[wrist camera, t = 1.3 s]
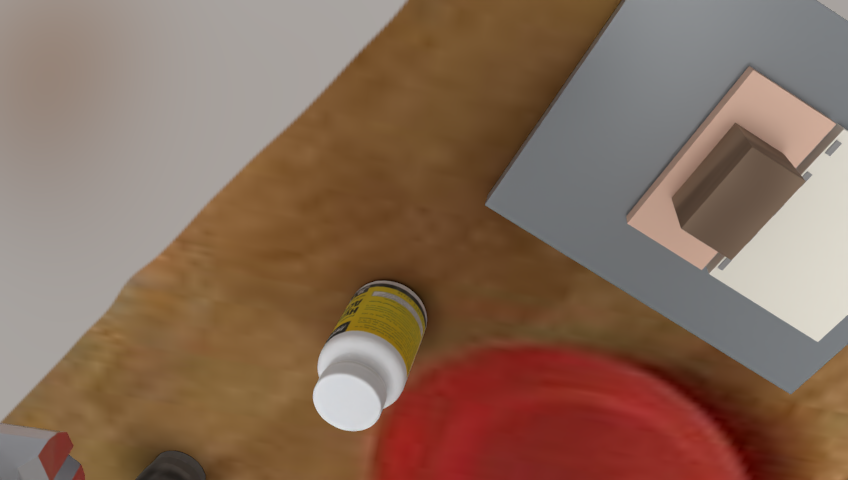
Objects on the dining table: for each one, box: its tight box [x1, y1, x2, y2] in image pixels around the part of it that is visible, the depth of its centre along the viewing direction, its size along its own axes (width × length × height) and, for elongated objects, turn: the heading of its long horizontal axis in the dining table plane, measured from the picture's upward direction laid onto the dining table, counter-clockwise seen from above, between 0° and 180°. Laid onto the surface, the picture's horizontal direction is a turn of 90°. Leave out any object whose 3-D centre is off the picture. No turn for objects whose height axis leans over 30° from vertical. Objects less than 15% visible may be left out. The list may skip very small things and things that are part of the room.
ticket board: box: [485, 0, 848, 394], centre depth 39 cm, size 22×18×3 cm
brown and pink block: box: [626, 66, 836, 270], centre depth 36 cm, size 5×10×5 cm, turn 150°
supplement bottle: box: [313, 281, 427, 431], centre depth 44 cm, size 5×5×10 cm
